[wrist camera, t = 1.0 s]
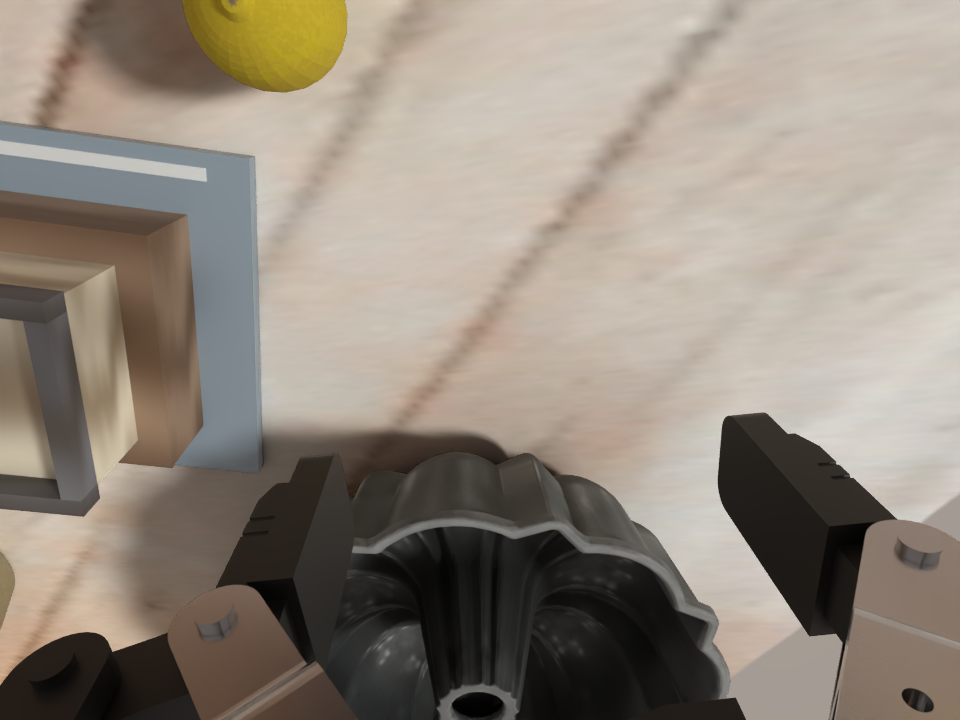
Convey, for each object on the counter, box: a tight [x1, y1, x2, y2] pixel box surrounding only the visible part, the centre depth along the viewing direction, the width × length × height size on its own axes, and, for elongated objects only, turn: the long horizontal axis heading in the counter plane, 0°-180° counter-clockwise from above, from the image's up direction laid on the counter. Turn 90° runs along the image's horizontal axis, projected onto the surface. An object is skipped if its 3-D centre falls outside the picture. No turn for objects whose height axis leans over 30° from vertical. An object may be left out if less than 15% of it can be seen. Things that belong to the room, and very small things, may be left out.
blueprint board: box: [0, 121, 263, 474], centre depth 31 cm, size 18×18×1 cm
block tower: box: [0, 190, 204, 517], centre depth 27 cm, size 12×12×9 cm
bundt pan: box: [325, 452, 730, 720], centre depth 36 cm, size 26×26×10 cm
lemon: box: [182, 0, 347, 92], centre depth 22 cm, size 6×6×8 cm
